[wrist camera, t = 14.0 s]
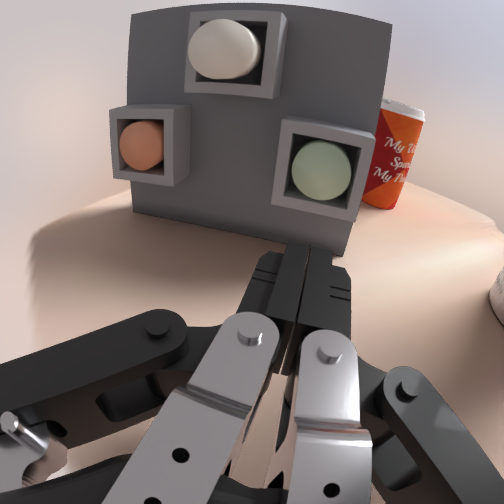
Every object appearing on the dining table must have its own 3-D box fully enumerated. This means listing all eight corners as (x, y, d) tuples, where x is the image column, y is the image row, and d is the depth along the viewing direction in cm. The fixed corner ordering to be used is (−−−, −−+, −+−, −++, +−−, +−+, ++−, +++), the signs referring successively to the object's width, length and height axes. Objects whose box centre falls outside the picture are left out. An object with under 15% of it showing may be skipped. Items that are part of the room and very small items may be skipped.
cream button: (248, 81, 15) (255, 19, 13) (186, 78, 15) (190, 20, 13) (258, 81, 17) (264, 26, 15) (202, 77, 17) (206, 25, 15)
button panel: (342, 276, 23) (401, 16, 11) (116, 225, 26) (109, 11, 15) (342, 239, 28) (385, 30, 16) (148, 200, 31) (149, 17, 20)
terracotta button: (160, 172, 22) (159, 123, 19) (121, 168, 22) (118, 122, 20) (175, 163, 24) (175, 118, 21) (137, 159, 24) (136, 117, 22)
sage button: (343, 205, 20) (356, 151, 17) (287, 193, 20) (296, 138, 18) (343, 192, 22) (353, 143, 19) (292, 181, 22) (300, 132, 20)
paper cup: (377, 215, 33) (405, 104, 25) (339, 189, 39) (358, 91, 31) (412, 210, 36) (438, 116, 28) (375, 187, 42) (395, 101, 34)
